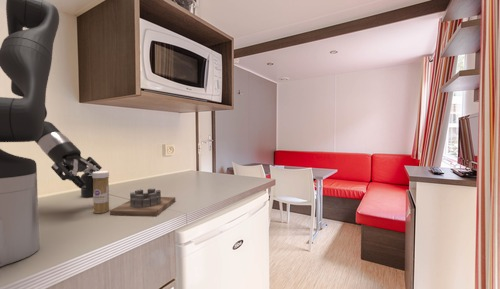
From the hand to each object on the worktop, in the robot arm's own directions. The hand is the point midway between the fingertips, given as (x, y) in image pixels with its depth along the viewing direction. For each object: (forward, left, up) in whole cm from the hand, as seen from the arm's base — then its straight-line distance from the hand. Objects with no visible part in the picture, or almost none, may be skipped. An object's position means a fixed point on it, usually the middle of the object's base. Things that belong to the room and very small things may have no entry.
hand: (94, 183), depth 73 cm
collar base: (+5, -15, -9) cm, 18 cm away
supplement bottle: (+18, +16, -10) cm, 26 cm away
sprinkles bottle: (0, -2, -10) cm, 10 cm away
